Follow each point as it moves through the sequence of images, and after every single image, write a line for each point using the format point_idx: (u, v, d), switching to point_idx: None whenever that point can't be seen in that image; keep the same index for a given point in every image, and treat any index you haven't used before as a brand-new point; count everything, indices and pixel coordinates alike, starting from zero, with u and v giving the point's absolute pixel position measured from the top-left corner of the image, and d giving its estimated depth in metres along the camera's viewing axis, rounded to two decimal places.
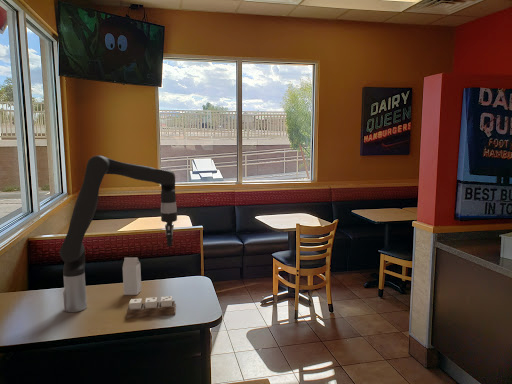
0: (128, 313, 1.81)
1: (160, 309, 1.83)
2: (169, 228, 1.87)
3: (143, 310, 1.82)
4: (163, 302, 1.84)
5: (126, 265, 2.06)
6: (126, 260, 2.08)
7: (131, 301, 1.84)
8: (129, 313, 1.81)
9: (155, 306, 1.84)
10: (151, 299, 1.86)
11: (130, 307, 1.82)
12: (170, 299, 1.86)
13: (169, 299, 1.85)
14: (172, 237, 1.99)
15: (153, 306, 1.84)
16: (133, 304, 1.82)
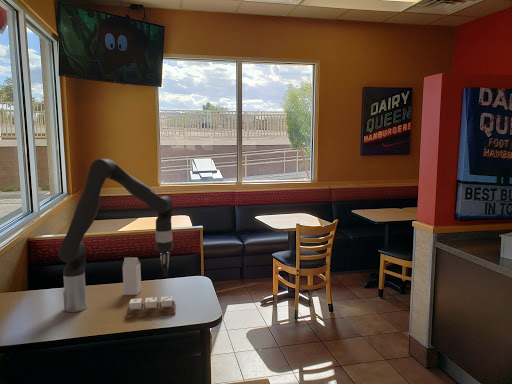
0: (128, 313, 1.81)
1: (160, 309, 1.83)
2: (165, 263, 1.79)
3: (143, 310, 1.82)
4: (163, 302, 1.84)
5: (126, 265, 2.06)
6: (126, 260, 2.08)
7: (131, 301, 1.84)
8: (129, 313, 1.81)
9: (155, 306, 1.84)
10: (151, 299, 1.86)
11: (130, 307, 1.82)
12: (170, 299, 1.86)
13: (169, 299, 1.85)
14: (167, 271, 1.85)
15: (153, 306, 1.84)
16: (133, 304, 1.82)
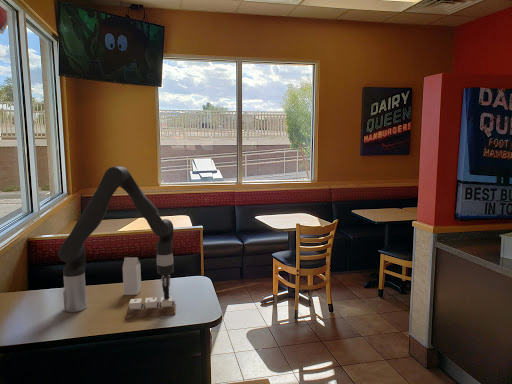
0: (128, 313, 1.81)
1: (160, 309, 1.83)
2: (166, 286, 1.80)
3: (143, 310, 1.82)
4: (163, 302, 1.84)
5: (126, 265, 2.06)
6: (126, 260, 2.08)
7: (131, 301, 1.84)
8: (129, 313, 1.81)
9: (155, 306, 1.84)
10: (151, 299, 1.86)
11: (130, 307, 1.82)
12: (170, 299, 1.86)
13: (169, 300, 1.85)
14: (168, 293, 1.87)
15: (153, 306, 1.84)
16: (133, 304, 1.82)
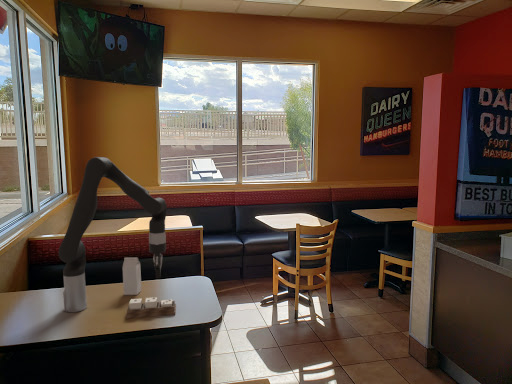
0: (128, 313, 1.81)
1: (160, 309, 1.83)
2: (157, 265, 1.79)
3: (143, 310, 1.82)
4: (163, 305, 1.84)
5: (126, 265, 2.06)
6: (126, 260, 2.08)
7: (131, 301, 1.84)
8: (129, 313, 1.81)
9: (155, 306, 1.84)
10: (151, 299, 1.86)
11: (130, 307, 1.82)
12: (170, 302, 1.86)
13: (169, 302, 1.86)
14: (160, 273, 1.85)
15: (153, 306, 1.84)
16: (133, 304, 1.82)
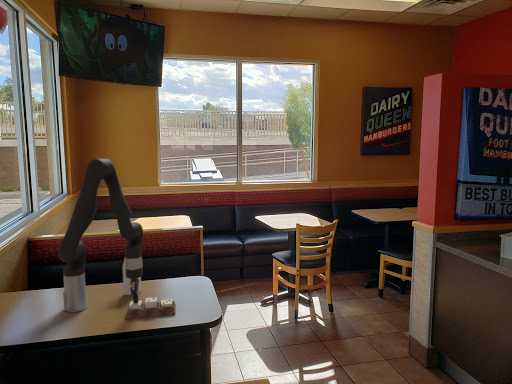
0: (128, 313, 1.81)
1: (160, 309, 1.83)
2: (134, 290, 1.78)
3: (143, 310, 1.82)
4: (163, 305, 1.84)
5: None
6: None
7: (131, 303, 1.84)
8: (129, 313, 1.81)
9: (155, 306, 1.84)
10: (151, 299, 1.86)
11: (130, 309, 1.82)
12: (170, 302, 1.86)
13: (169, 302, 1.86)
14: None
15: (153, 306, 1.84)
16: (133, 306, 1.82)
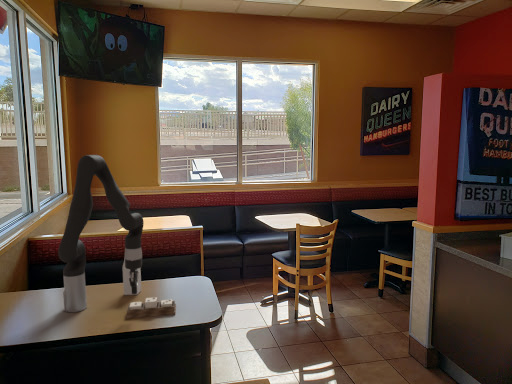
0: (128, 313, 1.81)
1: (160, 309, 1.83)
2: (133, 281, 1.78)
3: (143, 310, 1.82)
4: (163, 305, 1.84)
5: None
6: None
7: (131, 304, 1.84)
8: (129, 313, 1.81)
9: (155, 306, 1.84)
10: (151, 299, 1.86)
11: None
12: (170, 302, 1.86)
13: (169, 302, 1.86)
14: (136, 288, 1.84)
15: (153, 306, 1.84)
16: (133, 307, 1.82)
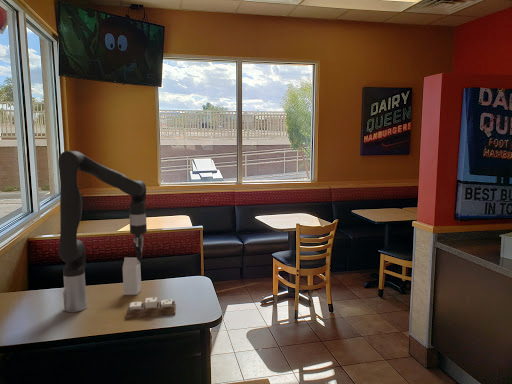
0: (128, 313, 1.81)
1: (160, 309, 1.83)
2: (137, 245, 1.82)
3: (143, 310, 1.82)
4: (163, 305, 1.84)
5: (126, 265, 2.06)
6: (126, 260, 2.08)
7: (131, 304, 1.84)
8: (129, 313, 1.81)
9: (155, 306, 1.84)
10: (151, 299, 1.86)
11: None
12: (170, 302, 1.86)
13: (169, 302, 1.86)
14: (141, 254, 1.88)
15: (153, 306, 1.84)
16: (133, 307, 1.82)
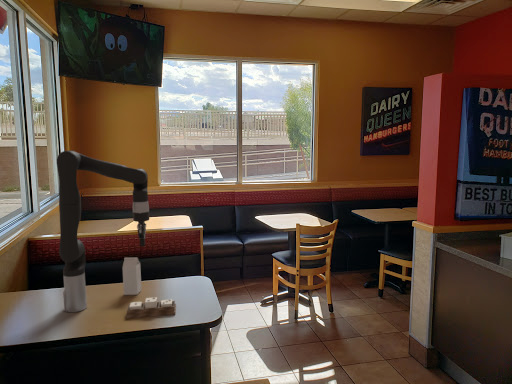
0: (128, 313, 1.81)
1: (160, 309, 1.83)
2: (141, 232, 1.86)
3: (143, 310, 1.82)
4: (163, 305, 1.84)
5: (126, 265, 2.06)
6: (126, 260, 2.08)
7: (131, 304, 1.84)
8: (129, 313, 1.81)
9: (155, 306, 1.84)
10: (151, 299, 1.86)
11: None
12: (170, 302, 1.86)
13: (169, 302, 1.86)
14: (144, 241, 1.93)
15: (153, 306, 1.84)
16: (133, 307, 1.82)
